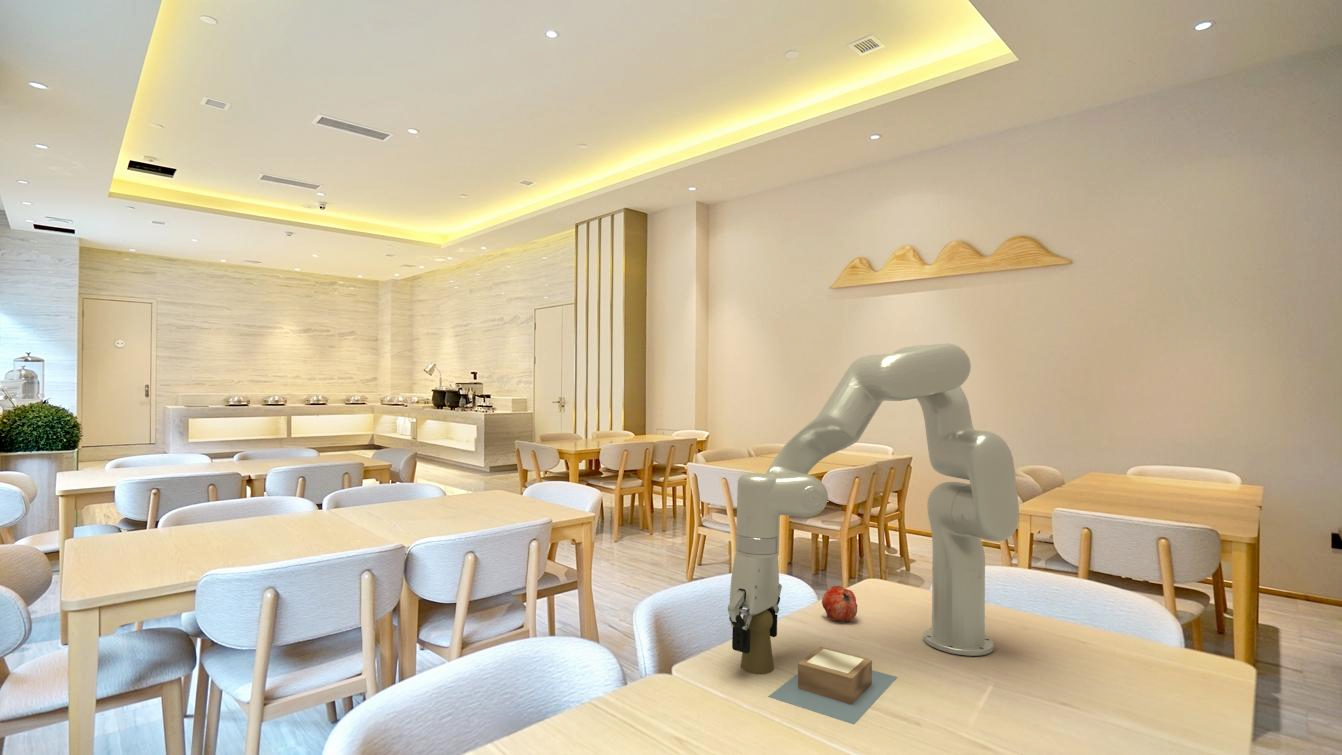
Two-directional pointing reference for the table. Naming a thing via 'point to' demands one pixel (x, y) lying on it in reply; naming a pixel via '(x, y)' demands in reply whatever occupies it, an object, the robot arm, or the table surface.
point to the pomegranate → (839, 603)
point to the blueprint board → (831, 706)
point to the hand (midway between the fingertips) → (755, 642)
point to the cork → (759, 645)
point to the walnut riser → (835, 675)
